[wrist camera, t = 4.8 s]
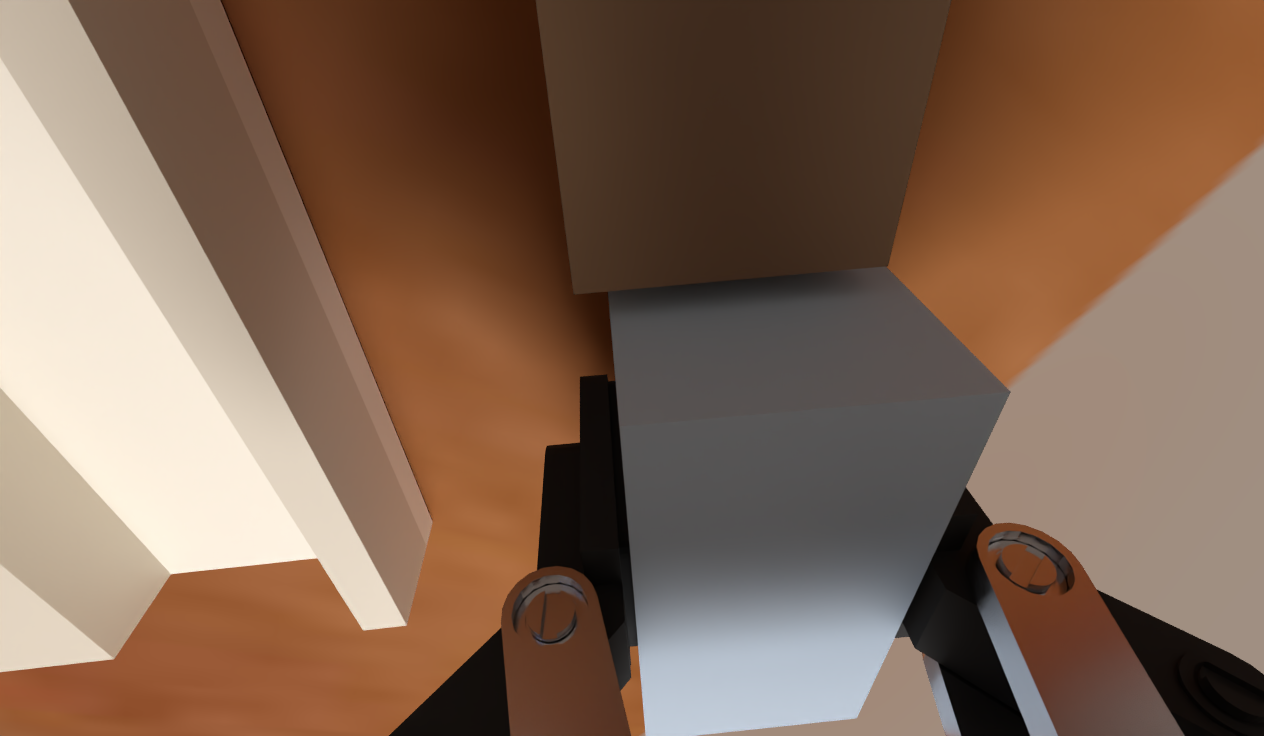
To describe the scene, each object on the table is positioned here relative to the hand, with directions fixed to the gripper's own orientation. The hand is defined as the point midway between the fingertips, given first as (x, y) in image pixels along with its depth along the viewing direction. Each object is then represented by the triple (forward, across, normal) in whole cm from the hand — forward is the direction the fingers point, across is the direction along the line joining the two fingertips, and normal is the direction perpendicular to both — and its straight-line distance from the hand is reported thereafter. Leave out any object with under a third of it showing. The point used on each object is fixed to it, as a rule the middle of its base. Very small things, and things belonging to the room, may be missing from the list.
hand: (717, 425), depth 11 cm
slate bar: (0, 0, 0) cm, 0 cm away
